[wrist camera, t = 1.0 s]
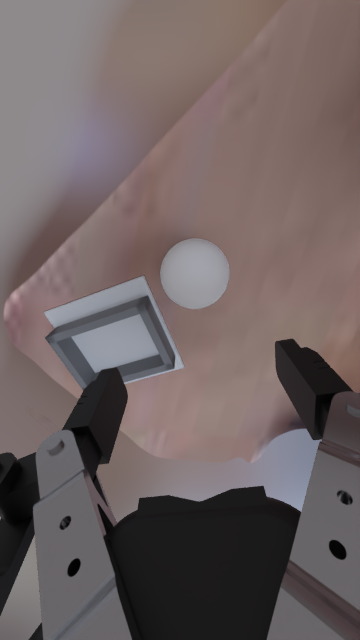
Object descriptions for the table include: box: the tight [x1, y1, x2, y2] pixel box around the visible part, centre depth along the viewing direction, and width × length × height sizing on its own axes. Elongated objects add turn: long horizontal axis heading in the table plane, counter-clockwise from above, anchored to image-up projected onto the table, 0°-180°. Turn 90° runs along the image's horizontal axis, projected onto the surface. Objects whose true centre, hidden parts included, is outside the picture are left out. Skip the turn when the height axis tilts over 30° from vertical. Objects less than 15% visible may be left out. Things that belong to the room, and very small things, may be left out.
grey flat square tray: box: [44, 275, 185, 391], centre depth 31 cm, size 15×15×3 cm
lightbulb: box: [160, 238, 230, 309], centre depth 22 cm, size 6×6×11 cm
